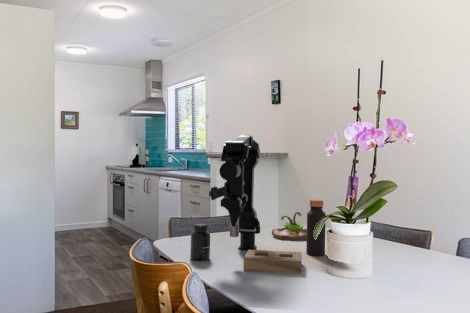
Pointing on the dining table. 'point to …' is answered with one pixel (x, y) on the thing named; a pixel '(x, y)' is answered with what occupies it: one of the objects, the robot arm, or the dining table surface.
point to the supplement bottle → (200, 243)
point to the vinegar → (313, 217)
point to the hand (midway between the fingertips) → (234, 225)
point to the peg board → (273, 261)
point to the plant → (291, 230)
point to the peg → (234, 229)
